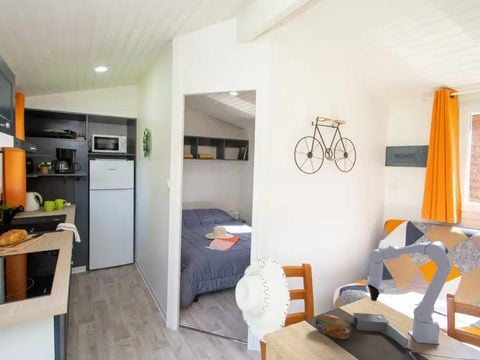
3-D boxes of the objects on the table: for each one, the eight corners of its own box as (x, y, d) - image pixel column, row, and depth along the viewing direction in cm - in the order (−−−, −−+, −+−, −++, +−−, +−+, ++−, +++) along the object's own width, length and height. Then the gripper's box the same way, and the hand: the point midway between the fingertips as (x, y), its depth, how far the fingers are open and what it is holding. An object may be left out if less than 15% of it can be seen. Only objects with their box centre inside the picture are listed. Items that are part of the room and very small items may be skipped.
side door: (386, 332, 132) (387, 323, 132) (389, 332, 132) (389, 323, 132) (404, 348, 121) (405, 338, 121) (407, 347, 122) (408, 337, 121)
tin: (314, 331, 131) (316, 313, 130) (316, 327, 134) (317, 310, 133) (349, 342, 124) (351, 323, 123) (350, 338, 127) (352, 319, 126)
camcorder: (381, 323, 140) (382, 313, 139) (388, 332, 133) (389, 321, 132) (350, 321, 140) (351, 311, 140) (355, 329, 133) (356, 319, 133)
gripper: (362, 267, 150) (360, 293, 150) (373, 279, 135) (371, 307, 136) (375, 268, 149) (373, 293, 150) (389, 280, 135) (386, 308, 136)
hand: (373, 300), depth 143 cm, fingers closed
